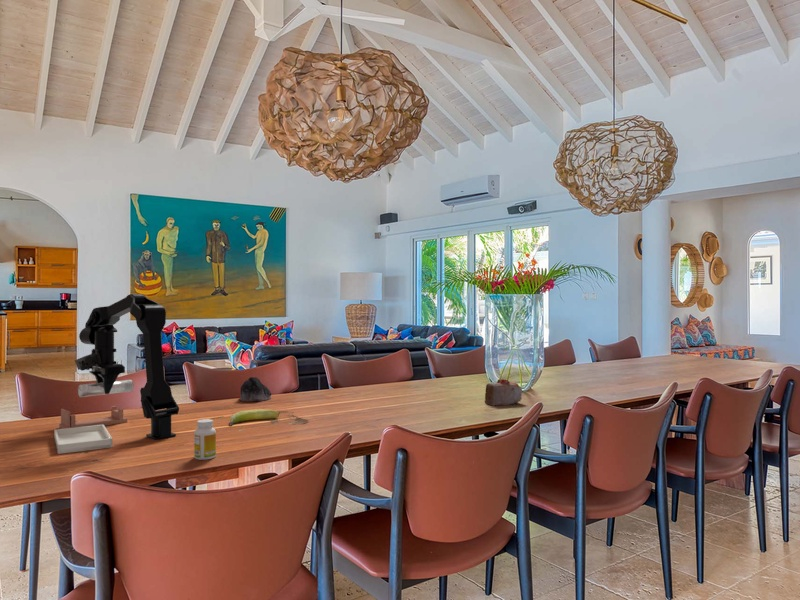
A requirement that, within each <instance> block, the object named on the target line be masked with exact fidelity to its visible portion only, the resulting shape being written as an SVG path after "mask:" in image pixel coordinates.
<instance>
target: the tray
mask: <svg viewBox="0 0 800 600" xmlns="http://www.w3.org/2000/svg"><path fill="white" fill-rule="evenodd" d="M53 432H54V433H53V438H54V442H55V446H56V447H55V448H56V451H57V454H58V455H60V454H69V453H76V452H84V451H93V450H101V449H109V448H113V444H114V443H113V437H112V436H111V434H110V432H109V431H108V429H107V427H106V425H105V426H104V424H103V425H94V426H84V427H74V428H65V429H61V428H58V429H57V428H56V429H54V430H53Z"/></svg>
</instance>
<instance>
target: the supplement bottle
mask: <svg viewBox="0 0 800 600" xmlns="http://www.w3.org/2000/svg"><path fill="white" fill-rule="evenodd" d="M196 423H197V425H196V426H197V428H196V429H195V430H194V434H193V435H194V436H193V437H194V438H193V439H194V448H193V450H194V451H193V452H194V456H193V457H194V459H195V460H199V461H201V460H202V461H207V460H212V459H214V458H215V457H216V455H217V431H216V429H215V428H214V419H211V418H206V419H205V418H203V419H198V420H197V421H196Z"/></svg>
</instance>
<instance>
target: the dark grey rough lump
mask: <svg viewBox="0 0 800 600" xmlns="http://www.w3.org/2000/svg"><path fill="white" fill-rule="evenodd" d="M239 391H240V397H239V398H240V401H244V402H255V401H256V402H257V401H258V402H260V401H261V402H263V401H264V402H265V401H267V400H271V399H272V397H271V396H272V392H271V390H270V389H269V388H268V387H267V386H266V385H265V384H263V383H262V382H261V381H260V379H259V378H258V377H256V376H255V377H253V376H252V377H251V376H250V377H249V378H248V379H245V380H244V381H243V383H242V384H241V385H240V390H239Z"/></svg>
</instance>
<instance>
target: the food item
mask: <svg viewBox="0 0 800 600" xmlns="http://www.w3.org/2000/svg"><path fill="white" fill-rule="evenodd" d="M522 390H523V389H522V387H521V386H520V384H518V383H517V382H515V381H512V382H511V381H509V380H508V379H501V378H500V379H498V380H497V381H496V382H492V383H491V382H489V383H486V385H485V393H484V399H485V400H484V404H486V405H489V406H491V405H492V406H491V407H494V406H495V405H496V406H508V405H515V404H514V403H516V404H519V402H521V401H522V399H523V398H522V392H523V391H522Z"/></svg>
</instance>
